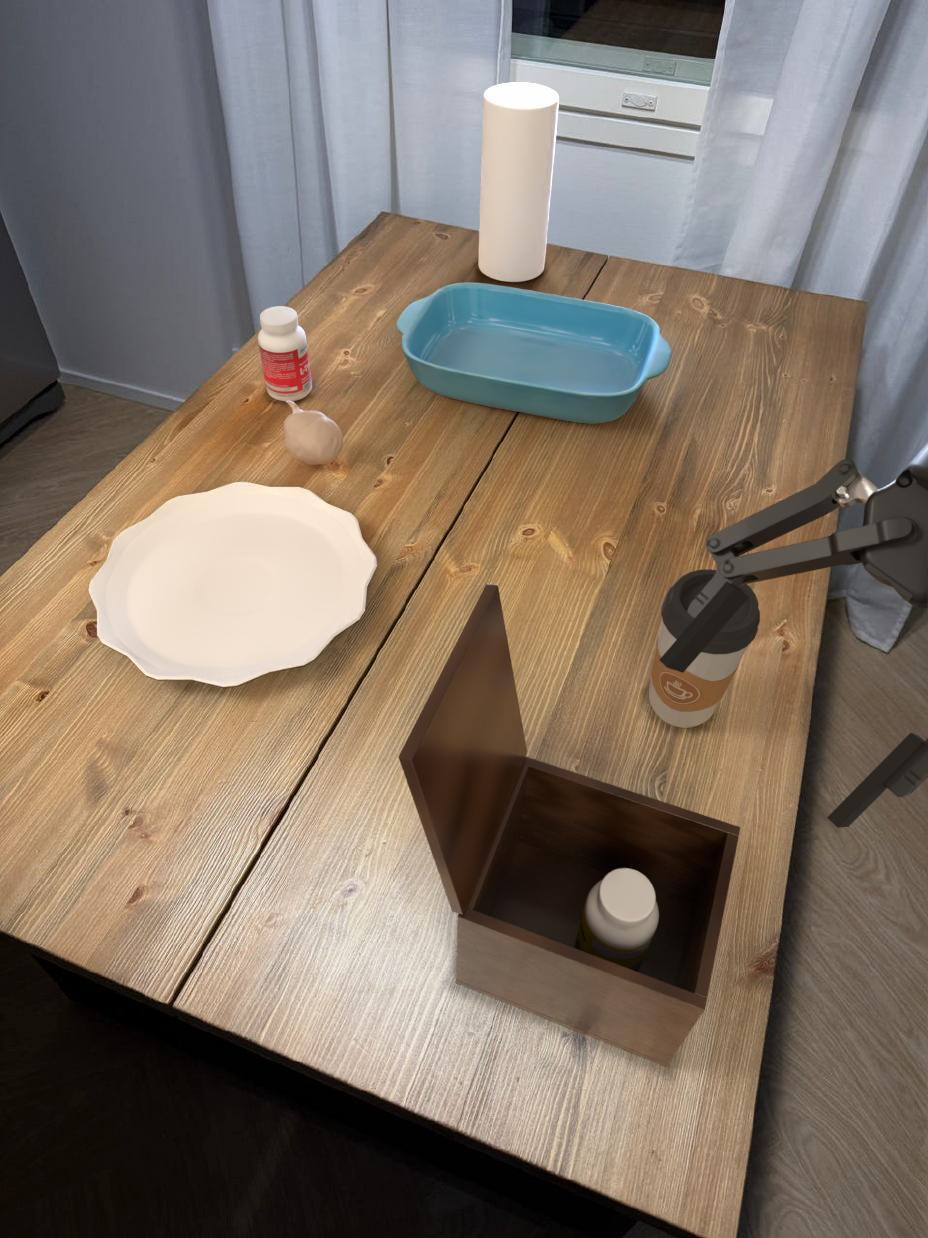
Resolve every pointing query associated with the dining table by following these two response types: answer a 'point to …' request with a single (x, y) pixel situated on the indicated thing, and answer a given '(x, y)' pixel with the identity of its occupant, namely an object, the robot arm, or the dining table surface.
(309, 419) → the garlic bulb
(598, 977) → the chest
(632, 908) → the supplement bottle
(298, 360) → the pill bottle
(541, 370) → the casserole dish
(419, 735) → the lid
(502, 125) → the tall pillar cylinder
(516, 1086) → the dining table surface
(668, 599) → the coffee cup
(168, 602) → the plate
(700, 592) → the robot arm
